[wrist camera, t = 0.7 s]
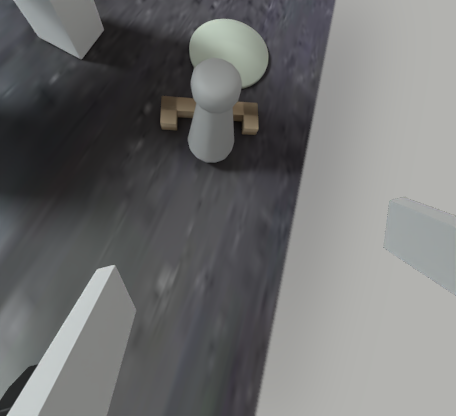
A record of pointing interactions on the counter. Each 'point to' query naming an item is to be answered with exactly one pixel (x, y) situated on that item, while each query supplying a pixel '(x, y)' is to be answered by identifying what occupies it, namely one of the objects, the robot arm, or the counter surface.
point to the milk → (64, 23)
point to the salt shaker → (213, 109)
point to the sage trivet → (231, 48)
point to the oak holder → (186, 108)
